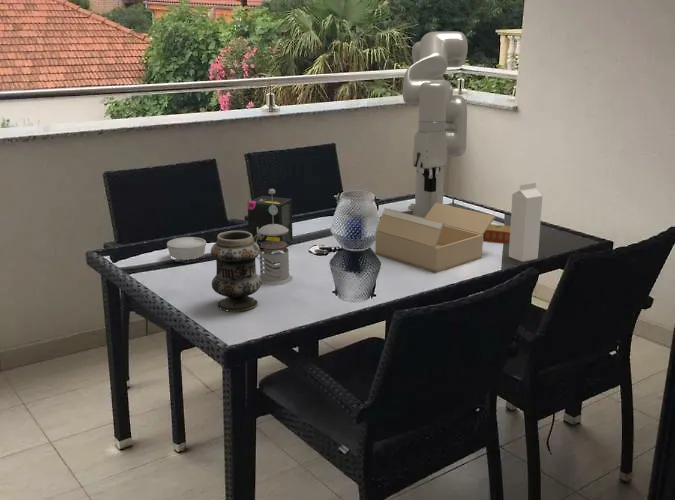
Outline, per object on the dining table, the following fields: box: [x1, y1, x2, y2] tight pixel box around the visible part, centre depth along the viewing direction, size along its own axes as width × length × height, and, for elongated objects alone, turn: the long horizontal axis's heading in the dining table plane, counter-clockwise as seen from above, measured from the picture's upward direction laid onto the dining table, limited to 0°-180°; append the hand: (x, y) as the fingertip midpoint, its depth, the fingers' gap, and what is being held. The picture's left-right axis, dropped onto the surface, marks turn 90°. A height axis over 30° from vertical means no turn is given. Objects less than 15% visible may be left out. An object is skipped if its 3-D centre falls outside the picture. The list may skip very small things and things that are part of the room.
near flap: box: [375, 207, 445, 247], centre depth 215 cm, size 23×7×1 cm
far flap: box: [425, 203, 496, 235], centre depth 229 cm, size 23×7×1 cm
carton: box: [483, 223, 511, 245], centre depth 237 cm, size 8×16×4 cm, turn 68°
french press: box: [253, 188, 294, 286], centre depth 202 cm, size 10×12×25 cm
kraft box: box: [375, 225, 484, 274], centre depth 222 cm, size 24×20×7 cm
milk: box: [508, 182, 543, 263], centre depth 218 cm, size 6×6×22 cm
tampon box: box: [247, 195, 294, 246], centre depth 232 cm, size 11×9×15 cm
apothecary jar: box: [210, 230, 262, 312], centre depth 184 cm, size 12×12×18 cm
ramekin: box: [166, 236, 207, 260], centre depth 222 cm, size 11×11×5 cm
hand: (429, 191), depth 217 cm, fingers closed
